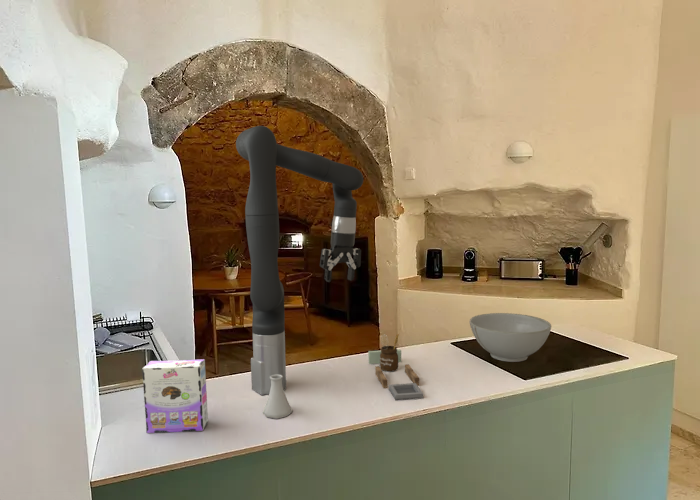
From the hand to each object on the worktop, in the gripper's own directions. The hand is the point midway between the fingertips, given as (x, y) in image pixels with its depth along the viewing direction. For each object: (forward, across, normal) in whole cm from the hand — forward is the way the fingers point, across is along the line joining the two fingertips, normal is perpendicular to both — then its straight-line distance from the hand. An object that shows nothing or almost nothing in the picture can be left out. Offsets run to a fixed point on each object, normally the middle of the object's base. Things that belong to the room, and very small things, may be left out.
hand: (339, 280), depth 163 cm
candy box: (+31, +54, +14) cm, 64 cm away
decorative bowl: (+24, -55, +28) cm, 66 cm away
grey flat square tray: (+26, -4, +31) cm, 41 cm away
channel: (+27, -9, +22) cm, 36 cm away
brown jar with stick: (+27, -14, +13) cm, 33 cm away
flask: (+29, +31, +21) cm, 47 cm away
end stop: (+28, -17, +7) cm, 33 cm away
